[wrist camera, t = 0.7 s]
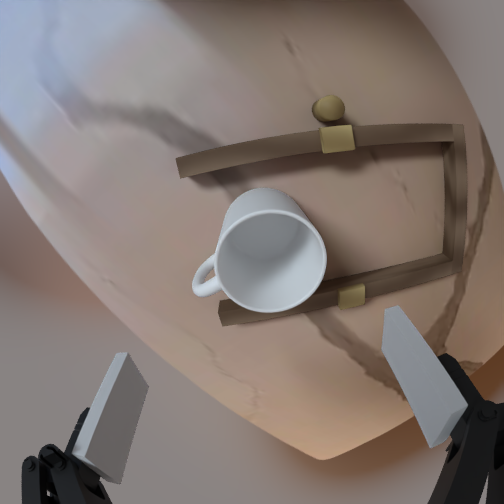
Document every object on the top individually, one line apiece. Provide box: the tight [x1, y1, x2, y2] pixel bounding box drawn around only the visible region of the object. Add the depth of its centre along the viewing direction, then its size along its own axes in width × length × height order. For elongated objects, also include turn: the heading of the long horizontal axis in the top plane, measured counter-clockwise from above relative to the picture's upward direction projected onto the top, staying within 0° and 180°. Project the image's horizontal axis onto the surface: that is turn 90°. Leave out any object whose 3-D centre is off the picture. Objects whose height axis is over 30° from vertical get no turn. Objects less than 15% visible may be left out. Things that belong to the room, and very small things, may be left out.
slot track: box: [176, 95, 467, 326], centre depth 27 cm, size 22×32×3 cm
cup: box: [192, 188, 327, 313], centre depth 25 cm, size 8×12×10 cm
